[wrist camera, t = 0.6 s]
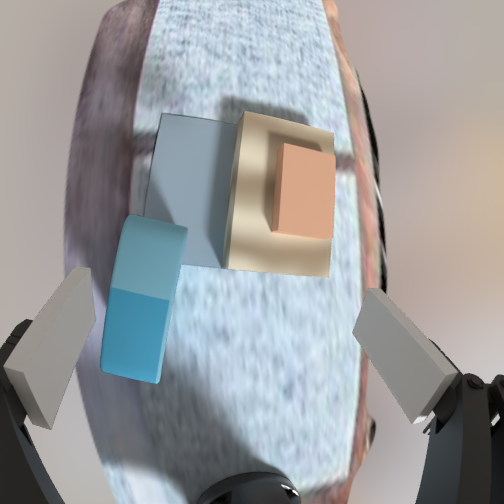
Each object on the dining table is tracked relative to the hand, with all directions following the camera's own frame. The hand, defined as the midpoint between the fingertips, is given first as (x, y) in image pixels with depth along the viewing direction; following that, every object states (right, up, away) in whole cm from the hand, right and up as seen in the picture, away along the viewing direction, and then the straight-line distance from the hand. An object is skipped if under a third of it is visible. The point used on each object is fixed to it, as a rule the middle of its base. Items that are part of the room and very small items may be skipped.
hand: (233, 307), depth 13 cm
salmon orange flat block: (+6, +9, +18) cm, 21 cm away
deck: (+3, +9, +22) cm, 23 cm away
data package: (-10, -1, +17) cm, 20 cm away
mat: (-6, +10, +19) cm, 22 cm away
